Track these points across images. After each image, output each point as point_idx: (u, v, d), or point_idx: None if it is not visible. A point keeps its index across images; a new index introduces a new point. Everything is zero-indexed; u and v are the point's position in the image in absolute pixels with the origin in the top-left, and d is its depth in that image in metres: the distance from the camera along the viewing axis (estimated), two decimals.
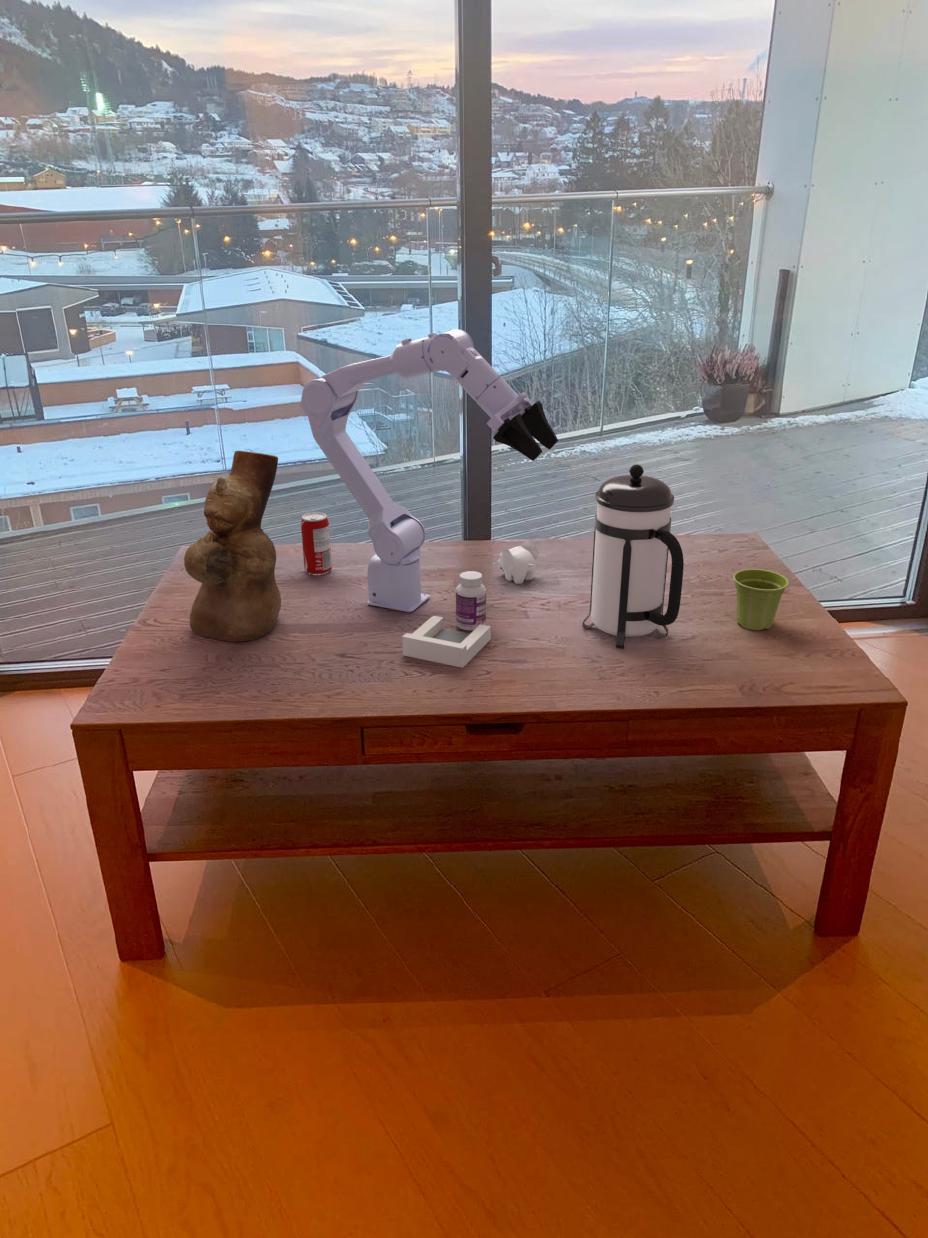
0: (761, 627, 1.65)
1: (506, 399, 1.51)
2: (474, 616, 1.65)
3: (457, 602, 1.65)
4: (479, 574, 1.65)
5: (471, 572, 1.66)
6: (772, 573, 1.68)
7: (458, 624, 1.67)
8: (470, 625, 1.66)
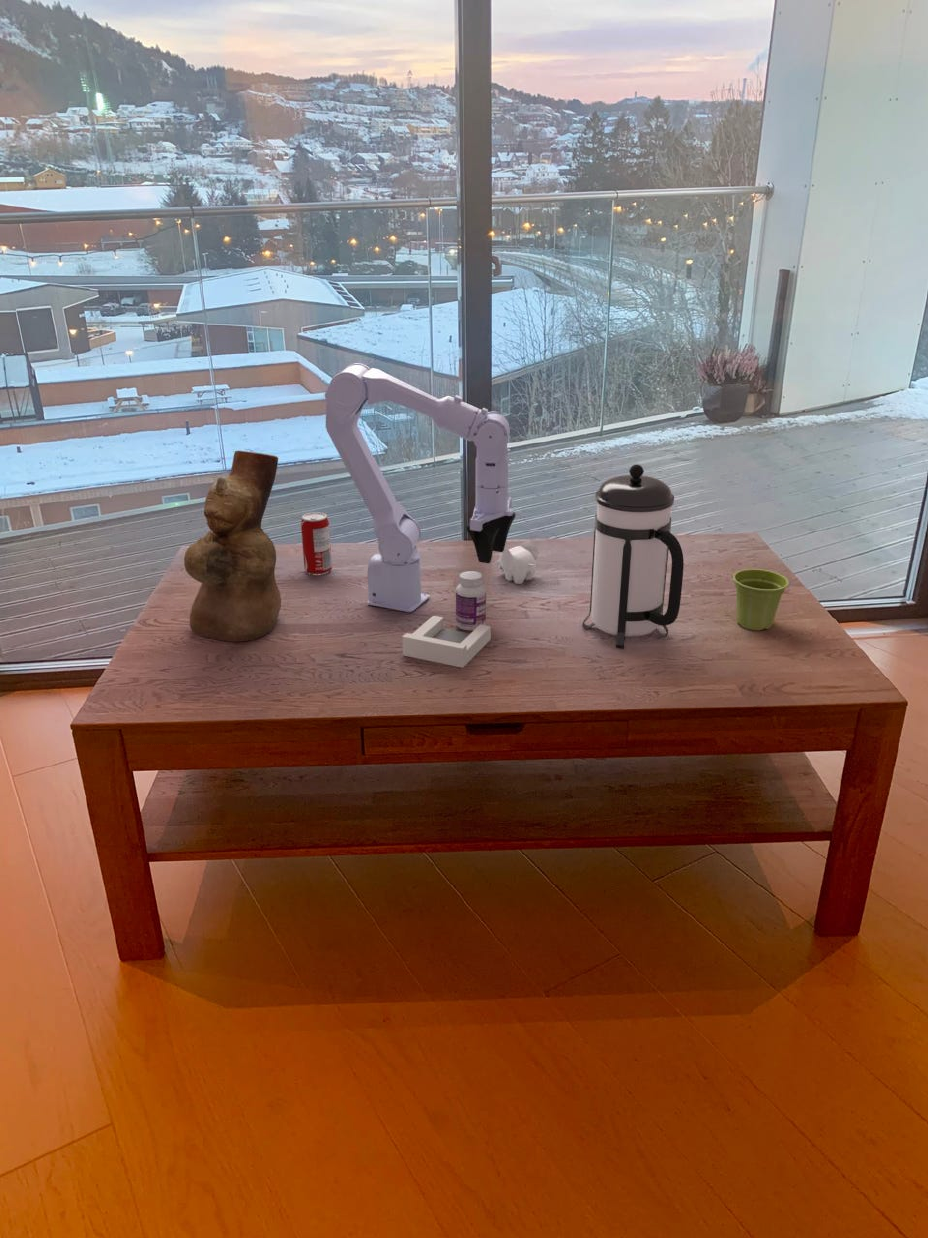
0: (761, 627, 1.65)
1: (497, 507, 1.65)
2: (474, 616, 1.65)
3: (457, 602, 1.65)
4: (479, 574, 1.65)
5: (471, 572, 1.66)
6: (772, 572, 1.68)
7: (458, 624, 1.67)
8: (470, 625, 1.66)
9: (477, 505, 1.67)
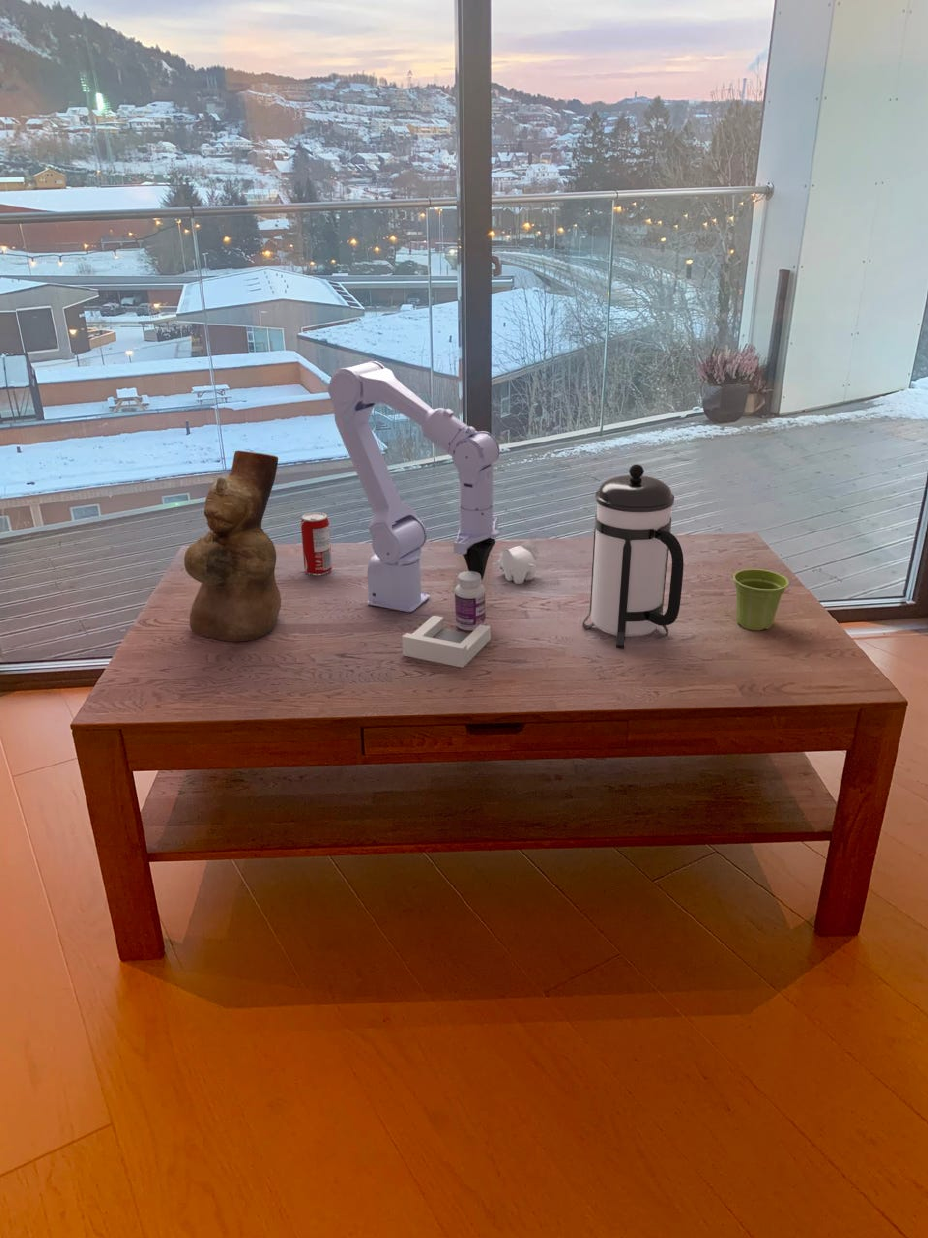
0: (761, 627, 1.65)
1: (482, 529, 1.60)
2: (474, 617, 1.65)
3: (456, 603, 1.65)
4: (478, 574, 1.64)
5: (470, 572, 1.65)
6: (771, 572, 1.68)
7: (458, 624, 1.67)
8: (470, 626, 1.66)
9: (461, 527, 1.62)
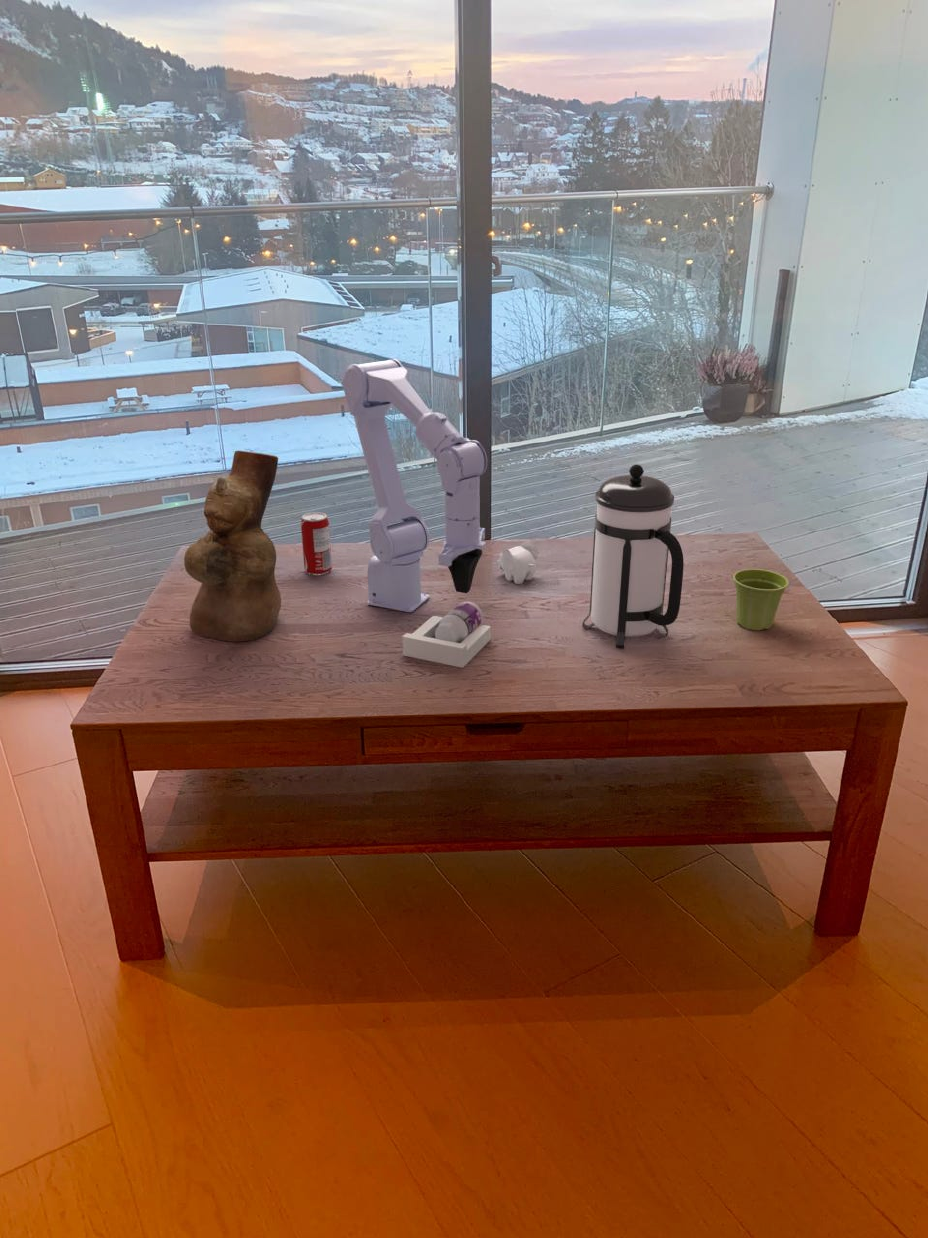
0: (761, 627, 1.65)
1: (468, 541, 1.56)
2: None
3: None
4: (453, 636, 1.56)
5: (445, 630, 1.56)
6: (772, 573, 1.68)
7: None
8: None
9: (447, 538, 1.57)
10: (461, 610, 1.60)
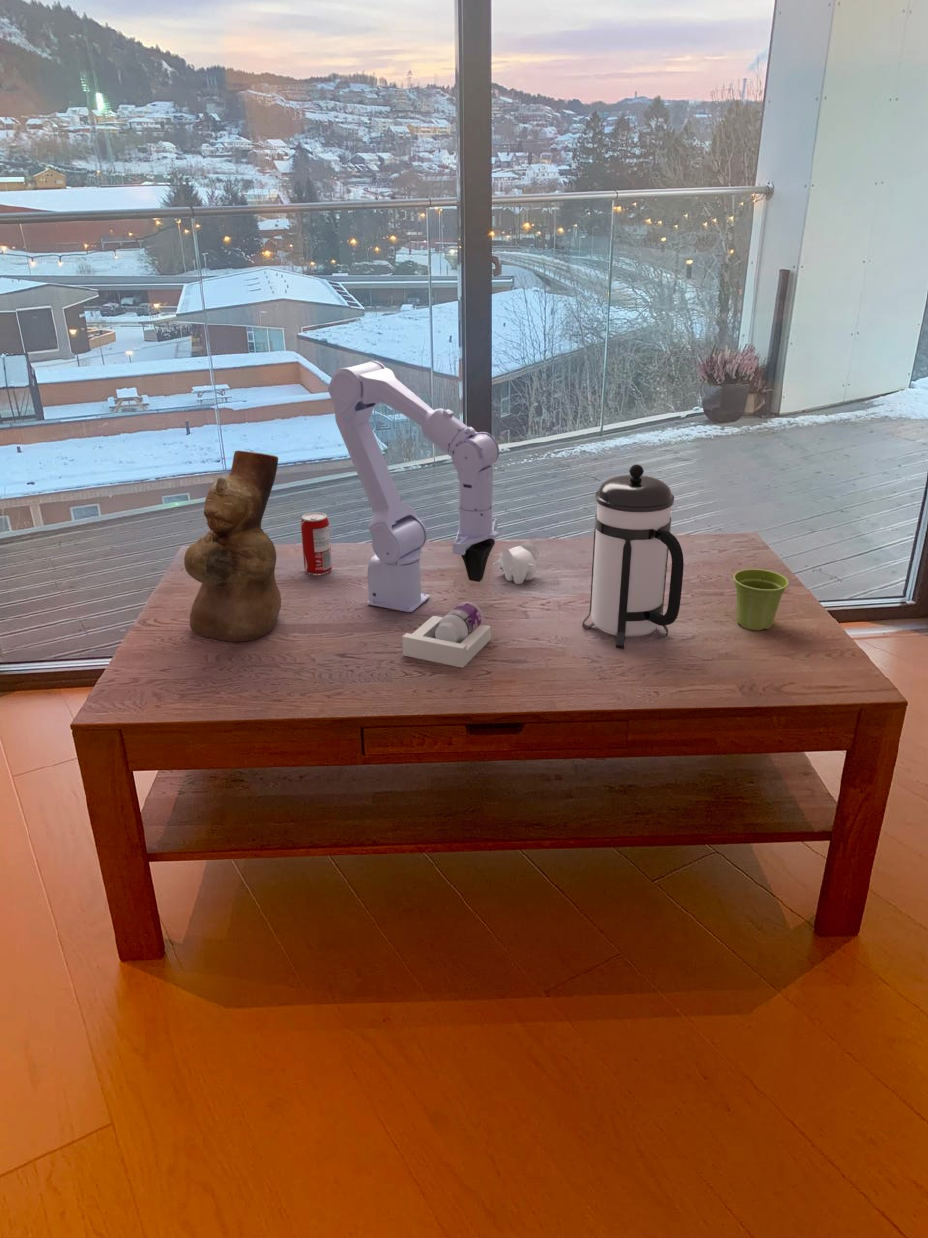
0: (761, 627, 1.65)
1: (481, 530, 1.60)
2: None
3: None
4: (453, 636, 1.56)
5: (445, 630, 1.56)
6: (772, 572, 1.68)
7: None
8: None
9: (461, 528, 1.62)
10: (461, 610, 1.60)
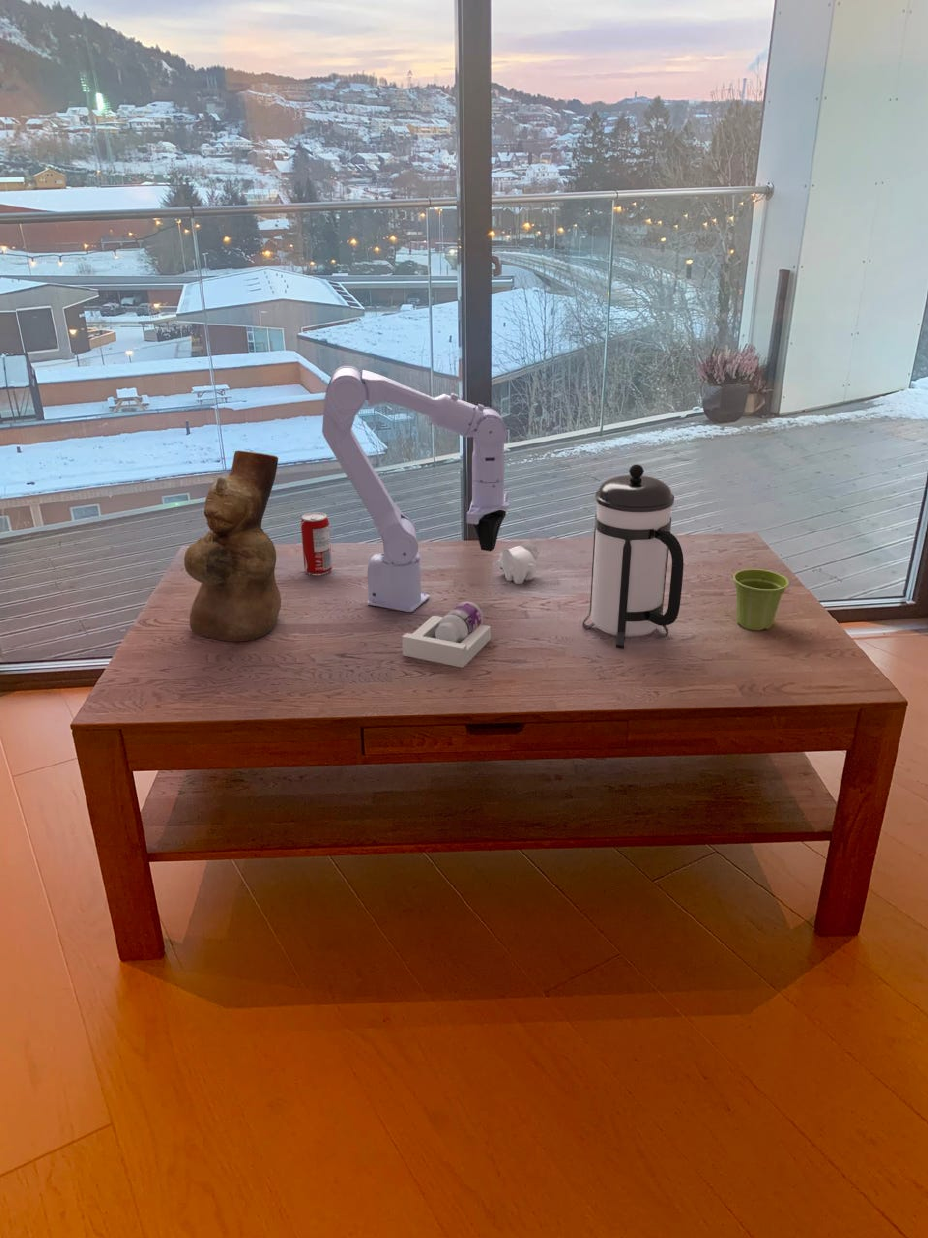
0: (761, 627, 1.65)
1: (493, 501, 1.68)
2: None
3: None
4: (453, 636, 1.56)
5: (445, 630, 1.56)
6: (772, 573, 1.68)
7: None
8: None
9: (474, 499, 1.70)
10: (461, 610, 1.60)
